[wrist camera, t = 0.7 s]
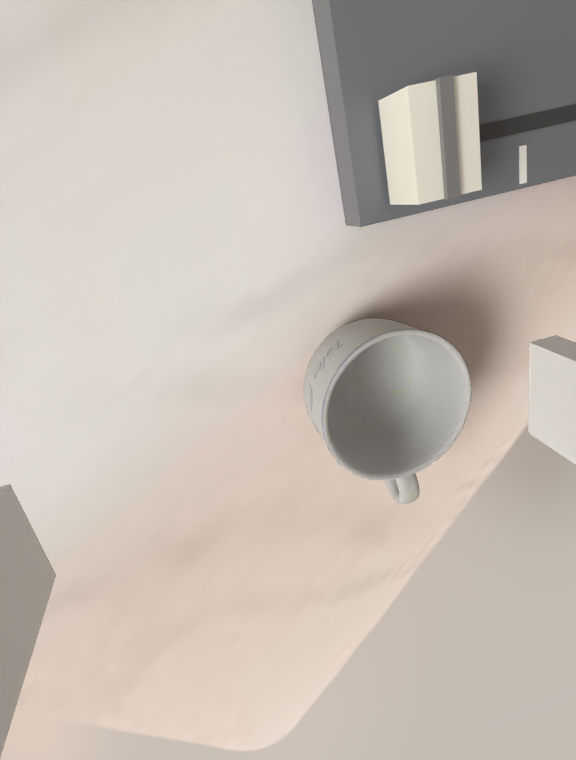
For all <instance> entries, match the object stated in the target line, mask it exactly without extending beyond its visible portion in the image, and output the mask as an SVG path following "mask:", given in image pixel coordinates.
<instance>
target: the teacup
mask: <svg viewBox="0 0 576 760" xmlns="http://www.w3.org/2000/svg"><path fill="white" fill-rule="evenodd" d="M471 392H472V391H471V379H470V374H469V371H468V368H467V365H466V363H465V361H464V359H463V358H462V356H461V355H460V353H459V351H458V350H457V349H456V348H455V347H454V346H453V345H452V344H451V343H450V342H448V341H447V340H446V339H444V338H443V337H441V336H439V335H437V334H434V333H431V332H428V331H425V330H420V329H416V328H414V327H411V326H408V325H406V324H403V323H400V322H396V321H393V320H388V319H380V318H370V319H362V320H358V321H355V322H352V323H349V324H346V325H344V326H342V327H341V328H339V329H337V330H336V331H334V332H333V333H332V334H330V335H329V336H328V337H327V338H326V339H325V340H324V341H323V342H322V343H321V344H320V345H319V347H318V348H317V349H316V351H315V352H314V354H313V356H312V358H311V360H310V362H309V364H308V367H307V370H306V374H305V379H304V401H305V406H306V409H307V413H308V415H309V417H310V420H311V422H312V423H313V425H314V427H315V429H316V430H317V432H318V433H319V435H320V436H321V437H322V439H323V440H324V442H325V443H326V444H327V446H328V448H329V450H330V452H331V453H332V455H333V456H334V458H335V459H336V460H337V461H338V463H339V464H340V465H341V466H343V467H344V468H345V469H347V470H349V471H350V472H352V473H353V474H355V475H357V476H360V477H362V478H367V479H370V480H384V482H385V485H386V487H387V489H388V491H389V492H390V494H391V496H392V497H393V498H394V500H396V501H397V502H398V503H400V504H408V503H410V502H413V501H415V500H416V499H417V498H418V496H419V484H418V480H417V477H416V475H415V473H417V472H419V471H421V470H423V469H424V468H426V467H427V466H429V465H430V464H431V463H433V462H434V461H436V460H437V459H438V458H440V457H441V456H442V455H443V454H444V453H445V452H446V451H447V450H448V449H449V448H450V446H451V445H452V444H453V442H454V441H455V440H456V438H457V437H458V435H459V433H460V431H461V429H462V428H463V426H464V423H465V421H466V418H467V415H468V412H469V406H470V402H471Z"/></svg>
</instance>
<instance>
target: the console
mask: <svg viewBox="0 0 576 760" xmlns="http://www.w3.org/2000/svg"><path fill="white" fill-rule="evenodd" d="M312 3H313V10H314V16H315V23H316V30H317V36H318V43H319V49H320V56H321V63H322V69H323V76H324V83H325V89H326V96H327V102H328V109H329V116H330V122H331V129H332V136H333V142H334V149H335V155H336V162H337V169H338V175H339V182H340V189H341V195H342V202H343V208H344V215H345V222H346V225H349V226H357V227H363V226H367V225H371V224H375V223H379V222H383V221H388V220H392V219H396V218H400V217H404V216H408V215H413V214H417V213H421V212H425V211H429V210H433V209H438V208H442V207H446V206H450V205H454V204H458V203H462V202H467V201H471V200H475V199H479V198H483V197H487V196H492V195H496V194H500V193H504V192H508V191H512V190H516V189H521V188H525V187H529V186H533V185H537V184H541V183H546V182H550V181H554V180H558V179H562V178H566V177H571V176H575V175H576V0H312ZM473 72H477V91H478V114H479V136H480V158H481V180H482V190H479V191H474V192H470V193H466V194H462V195H461V197H456V198H452V199H448V200H443V199H441V200H437V201H432V202H428V203H424V204H420V205H390V199H389V190H388V181H387V173H386V164H385V155H384V147H383V138H382V129H381V121H380V112H379V103H378V101H379V100H381V99H383V98H385V97H387V96H389V95H391V94H393V93H395V92H397V91H399V90H401V89H402V88H404V87H406V86H409V85H414V84H419V83H424V82H429V81H434V80H435V79H437V78H439V77H443V76H448V75H453V77H454V76H459V75H464V74H468V73H473Z"/></svg>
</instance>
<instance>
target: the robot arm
mask: <svg viewBox="0 0 576 760" xmlns="http://www.w3.org/2000/svg"><path fill="white" fill-rule="evenodd" d="M528 430H529V431H528V432H529V434H531V435H532V436H534V437H535V438H537V439H538V440H540V441H541V442H543V443H544V444H546V445H547V446H549V447H550V448H552V449H553V450H555V451H556V452H558V453H559V454H561V455H562V456H564V457H565V458H567V459H568V460H570V461H571V462H573V463H574V464H576V343H575V342H572V341H570V340H567V339H564V338H561V337H559V336H556V335H555V336H552V337H548V338H544V339H541V340H537V341H533V342H530V358H529V423H528ZM55 577H56V574H55V572H54V570H53V568H52V566H51V564H50V562H49V560H48V558H47V556H46V554H45V552H44V550H43V548H42V546H41V544H40V542H39V540H38V538H37V536H36V534H35V532H34V530H33V528H32V526H31V524H30V522H29V520H28V518H27V516H26V514H25V512H24V511H23V509H22V507H21V505H20V503H19V501H18V499H17V497H16V495H15V493H14V491H13V489H12V487H11V485H10V484H9V485H5V486H2V487H0V757H1V754H2V750H3V747H4V744H5V740H6V737H7V734H8V731H9V728H10V724H11V720H12V718H13V714H14V711H15V708H16V705H17V701H18V698H19V695H20V691H21V688H22V685H23V682H24V678H25V675H26V672H27V668H28V665H29V662H30V659H31V655H32V652H33V649H34V646H35V642H36V639H37V636H38V632H39V629H40V626H41V623H42V619H43V616H44V613H45V609H46V606H47V603H48V600H49V596H50V593H51V590H52V586H53V583H54V580H55Z"/></svg>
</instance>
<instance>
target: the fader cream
mask: <svg viewBox="0 0 576 760" xmlns="http://www.w3.org/2000/svg"><path fill="white" fill-rule="evenodd" d="M378 103H379V112H380V121H381V129H382V138H383V147H384V155H385V164H386V173H387V181H388V190H389V199H390V205H420V204H424V203H428V202H432V201H437V200H441V199H443V200H448V199H452V198H456V197H461V195H462V194H466V193H470V192H474V191H479V190H482V180H481V158H480V136H479V114H478V91H477V72H473V73H468V74H464V75H459V76H454V77H453V75H448V76H443V77H439V78H437V79H435V80H434V81H429V82H424V83H419V84H414V85H409V86H406V87H404V88H402V89H401V90H399V91H397V92H395V93H393V94H391V95H389V96H387V97H385V98H383V99H381V100H379V101H378Z"/></svg>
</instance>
